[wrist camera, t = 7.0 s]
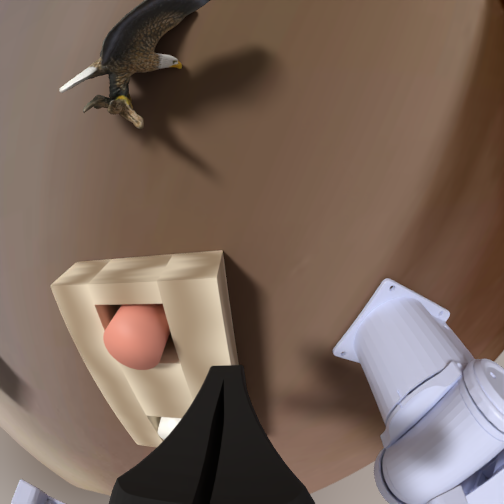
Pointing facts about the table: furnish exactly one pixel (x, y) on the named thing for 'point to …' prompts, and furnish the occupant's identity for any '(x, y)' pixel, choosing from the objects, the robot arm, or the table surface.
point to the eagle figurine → (134, 52)
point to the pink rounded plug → (137, 335)
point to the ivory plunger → (167, 426)
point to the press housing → (179, 340)
